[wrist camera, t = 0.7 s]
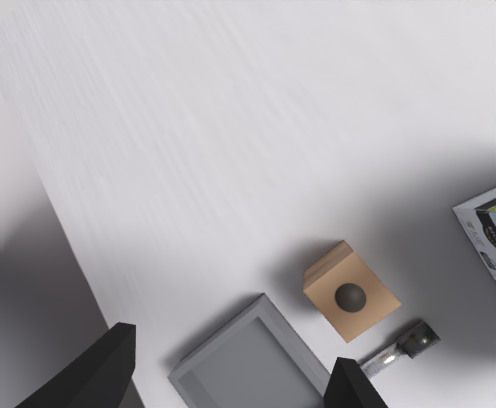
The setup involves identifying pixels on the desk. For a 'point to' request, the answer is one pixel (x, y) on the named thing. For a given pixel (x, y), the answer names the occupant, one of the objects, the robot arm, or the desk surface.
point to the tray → (252, 365)
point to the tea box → (481, 226)
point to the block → (347, 292)
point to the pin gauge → (402, 349)
